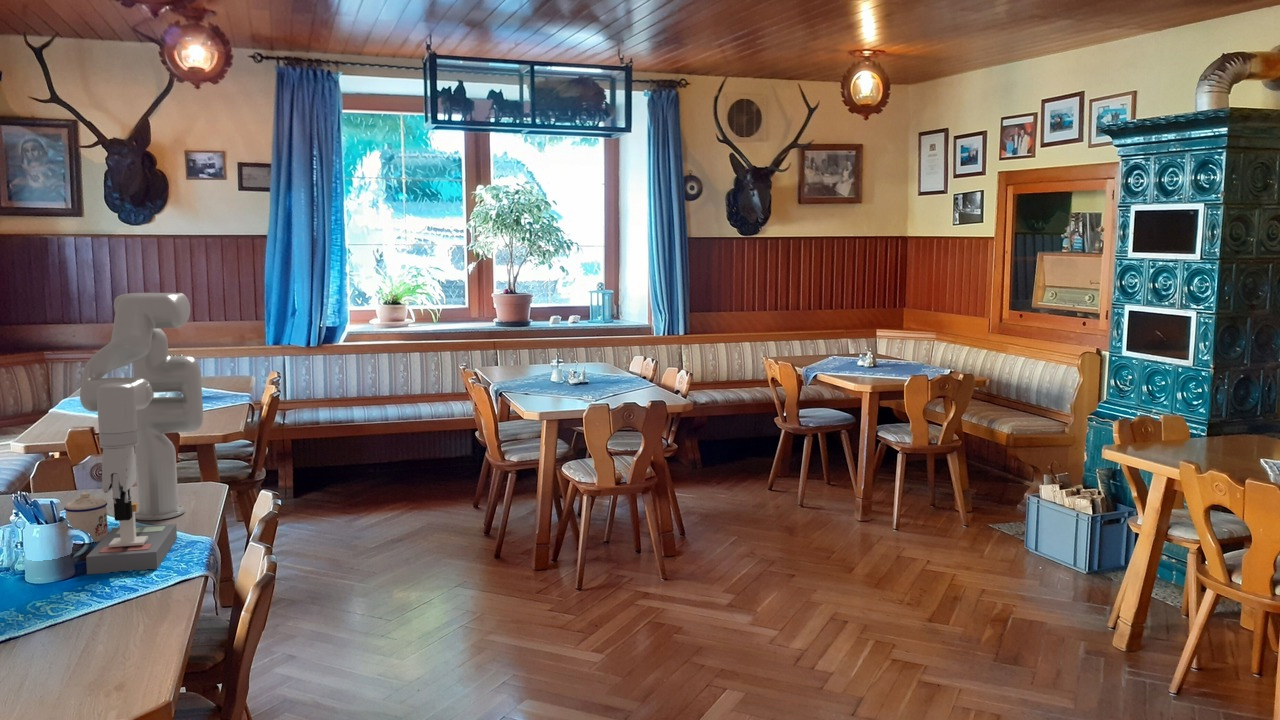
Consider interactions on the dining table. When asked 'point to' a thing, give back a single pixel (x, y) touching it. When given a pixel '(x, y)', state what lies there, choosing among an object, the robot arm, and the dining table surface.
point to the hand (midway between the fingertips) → (123, 519)
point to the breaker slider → (129, 532)
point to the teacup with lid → (88, 515)
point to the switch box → (132, 550)
